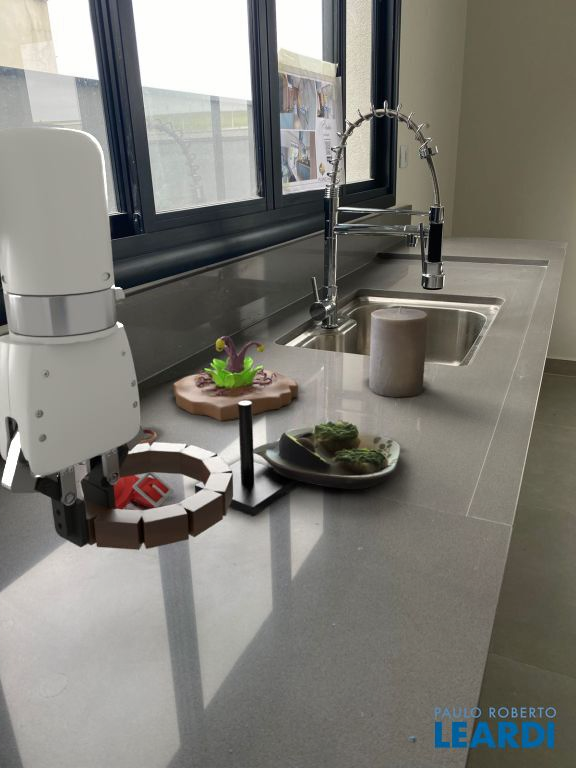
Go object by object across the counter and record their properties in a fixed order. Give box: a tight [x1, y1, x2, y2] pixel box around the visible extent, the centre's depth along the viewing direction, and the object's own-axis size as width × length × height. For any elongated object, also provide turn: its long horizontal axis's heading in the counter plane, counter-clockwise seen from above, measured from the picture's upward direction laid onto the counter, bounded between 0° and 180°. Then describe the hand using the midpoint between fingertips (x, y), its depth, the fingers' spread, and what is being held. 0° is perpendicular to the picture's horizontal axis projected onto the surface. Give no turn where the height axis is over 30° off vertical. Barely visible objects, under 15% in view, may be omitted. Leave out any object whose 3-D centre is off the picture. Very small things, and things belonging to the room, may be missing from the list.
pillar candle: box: [368, 305, 428, 398], centre depth 106 cm, size 10×10×15 cm
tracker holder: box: [114, 472, 175, 509], centre depth 70 cm, size 12×4×10 cm
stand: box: [194, 401, 300, 517], centre depth 71 cm, size 9×9×11 cm
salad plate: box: [253, 419, 401, 490], centre depth 80 cm, size 19×18×5 cm
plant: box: [173, 336, 299, 422], centre depth 103 cm, size 20×20×11 cm
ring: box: [74, 441, 233, 551], centre depth 54 cm, size 15×15×2 cm
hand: (87, 531), depth 50 cm, fingers closed on ring, 2 cm apart
